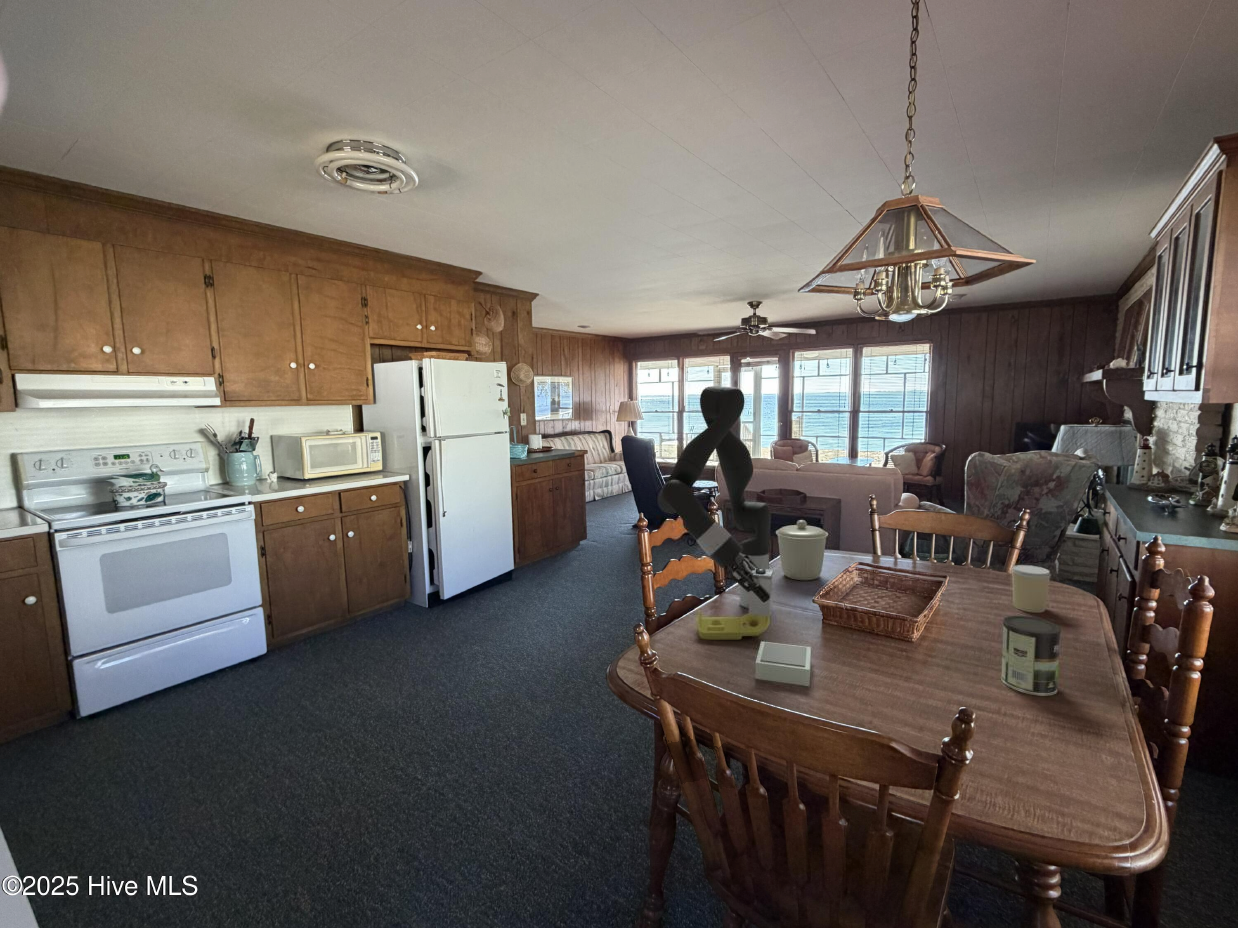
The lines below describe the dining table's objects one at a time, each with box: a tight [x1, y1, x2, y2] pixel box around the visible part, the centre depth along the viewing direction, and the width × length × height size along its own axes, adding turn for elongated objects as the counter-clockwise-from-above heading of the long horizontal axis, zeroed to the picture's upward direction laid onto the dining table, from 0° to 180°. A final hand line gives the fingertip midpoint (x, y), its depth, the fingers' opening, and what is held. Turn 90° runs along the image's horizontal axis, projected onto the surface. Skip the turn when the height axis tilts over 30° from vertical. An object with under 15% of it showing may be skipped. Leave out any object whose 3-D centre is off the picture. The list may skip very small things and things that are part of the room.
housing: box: [748, 568, 774, 617], centre depth 135 cm, size 5×5×11 cm
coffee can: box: [1000, 615, 1062, 697], centre depth 123 cm, size 10×10×14 cm
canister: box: [775, 519, 829, 581], centre depth 202 cm, size 18×18×21 cm
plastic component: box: [696, 609, 771, 641], centre depth 155 cm, size 20×7×10 cm
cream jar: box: [1011, 564, 1052, 613], centre depth 166 cm, size 9×9×12 cm
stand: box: [755, 640, 812, 687], centre depth 133 cm, size 12×12×4 cm
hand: (768, 595), depth 134 cm, fingers closed on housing, 5 cm apart
